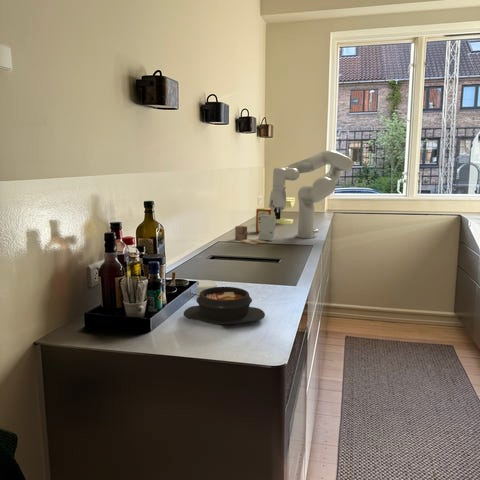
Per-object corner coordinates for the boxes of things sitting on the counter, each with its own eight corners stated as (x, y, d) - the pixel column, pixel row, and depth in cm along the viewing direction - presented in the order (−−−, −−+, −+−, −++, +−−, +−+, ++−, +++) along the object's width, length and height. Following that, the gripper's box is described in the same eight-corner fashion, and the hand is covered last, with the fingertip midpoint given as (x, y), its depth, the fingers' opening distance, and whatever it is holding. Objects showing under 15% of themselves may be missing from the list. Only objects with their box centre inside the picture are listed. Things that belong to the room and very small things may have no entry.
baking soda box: (272, 232, 307) (272, 208, 304) (270, 233, 301) (270, 209, 298) (258, 231, 310) (258, 207, 307) (256, 232, 303) (256, 208, 301)
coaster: (199, 297, 164) (199, 288, 163) (185, 291, 172) (185, 282, 171) (222, 293, 170) (222, 284, 169) (208, 287, 178) (208, 278, 177)
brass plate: (255, 239, 280) (255, 238, 280) (268, 242, 271) (268, 241, 271) (239, 241, 273) (239, 240, 273) (252, 244, 264) (252, 243, 264)
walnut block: (240, 238, 282) (241, 225, 280) (247, 239, 278) (247, 226, 277) (235, 239, 278) (235, 226, 276) (241, 240, 275) (241, 227, 273)
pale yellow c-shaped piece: (274, 219, 370) (275, 197, 367) (294, 220, 366) (295, 197, 363) (268, 224, 341) (268, 200, 338) (289, 225, 338) (290, 201, 335)
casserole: (177, 328, 134) (177, 300, 133) (189, 308, 152) (189, 283, 151) (264, 332, 132) (264, 303, 131) (265, 310, 151) (266, 285, 149)
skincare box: (258, 239, 276) (260, 214, 274) (261, 238, 282) (262, 214, 280) (272, 240, 274) (273, 215, 272) (274, 239, 280) (276, 215, 277)
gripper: (283, 188, 285) (282, 217, 289) (265, 188, 276) (264, 219, 279) (292, 189, 280) (290, 219, 283) (273, 189, 270) (272, 220, 274)
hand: (277, 219), depth 281 cm, fingers closed
